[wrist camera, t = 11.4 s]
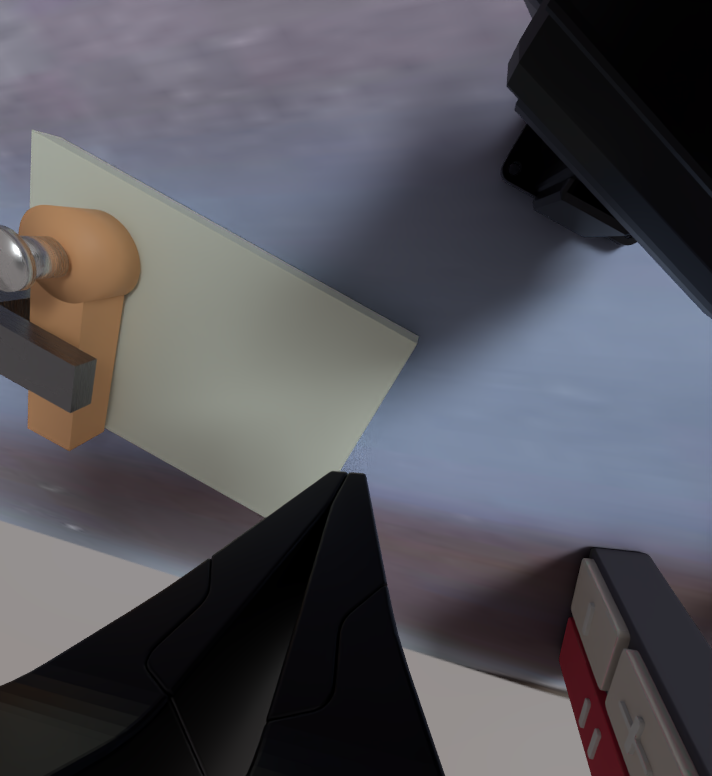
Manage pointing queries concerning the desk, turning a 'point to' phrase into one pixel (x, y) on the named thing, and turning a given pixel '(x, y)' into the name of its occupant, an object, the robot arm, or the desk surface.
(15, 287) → the keeper
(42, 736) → the robot arm
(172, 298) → the base board
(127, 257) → the link
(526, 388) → the desk surface
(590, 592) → the calculator
